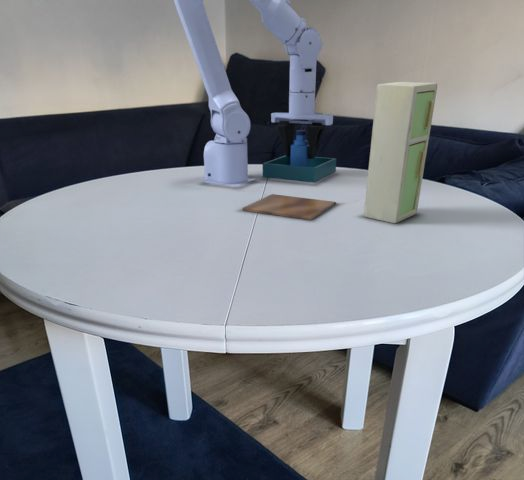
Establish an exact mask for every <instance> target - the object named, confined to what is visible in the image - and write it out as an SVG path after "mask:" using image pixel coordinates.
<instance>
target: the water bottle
mask: <svg viewBox="0 0 524 480" xmlns="http://www.w3.org/2000/svg"><path fill="white" fill-rule="evenodd" d="M308 153H309V139H307V130H306V129H296V130H295V139H293V144H292V145H291V164H290V166H301V167H310V159H309V156H308Z"/></svg>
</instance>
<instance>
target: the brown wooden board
mask: <svg viewBox="0 0 524 480" xmlns="http://www.w3.org/2000/svg"><path fill="white" fill-rule="evenodd" d="M335 205H336V201H332V200H324V199H314V198H307V197H299V196H291V195H290V196H289V195H284V194H283V195H282V194H274V193H272V194H270V195H267V196H265V197H263V198H261V199H259V200H257V201H255V202H253V203H251V204H248V205H246V206H244V207H242V211H243V212H249V213H250V212H251V213H255V214H256V213H257V214H264V215H271V216H278V217H285V218H292V219H299V220H307V221H312V220H314V219H315V218H317V217H318V216H320V215H321V214H323V213H325V212H326V211H327V210H329V209H331V208H332V207H334V206H335Z"/></svg>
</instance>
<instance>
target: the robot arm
mask: <svg viewBox="0 0 524 480" xmlns="http://www.w3.org/2000/svg"><path fill="white" fill-rule="evenodd" d="M247 1H248V2H249V3H250V4H251V5H252V6H253V7H254V8H256V9H257V10H258V11H259V12H260V17H261V23H262V25H264V27H266V29H267V30H268V31H269V32H270V33H272V35H274V37H276V39H277V40H278V41H280V42H281V44H282V45H283V46H284V48H285V52H286V54H287V55H288V56H289V86H288V87H289V91H288V94H289V95H288V112H272V113H270V117H271V118H270V119H271V120H270V122H271V123H274V124H275V123H278V124H277V125H276V130H277V132H278V134H279V136H280V138H281V141H282V144H283V148H284V152H285V155H286V157H290V156H291V145H292V144H294V134H295V129H296V128H295V127H296V124H304V125H305V124H306V125H307V135H308V144H309V153H308V156H309V159H313V158H315V157H316V154H317V150H318V146H319V144H320V141H321V138H322V136H323V134H324V132H325V130H326V128H327V126H332V125H333V123H334V115H333V114H324V113H315V109H316V108H315V107H316V105H315V104H316V103H315V102H316V84H317V83H316V82H317V81H316V80H317V63H318V61H317V59H318V56H319V55H320V53H321V51H322V49H323V45H324V44H323V43H324V42H322V41H321V37H320V33H319V31H318V30H317V29H316V28H314V27H313V26H312V27H311V26H307V20H306V19H305V17H300V16H299V14H297V12H296V11H295V10H294V9H293V7H291V6H290V5H291V1H290V0H247ZM173 3H174V5H175V9H176V11H177V14H178V17H179V19H180V23H181V25H182V28H183V31H184V33H185V36H186V39H187V41H188V42H187V43H188V44H189V47H190V50H191V53H192V56H193V58H194V61H195V63H196V67H197V69H198V72H199V75H200V77H201V80H202V83H203V85H204V88H205V91H206V94H207V97H208V109H209V111H210V126H211V128H212V130H213V133H215V136H214V139H213V140H209V141H207V142H206V143H205V146H204V150H203V165H204V166H203V167H204V180H203V183H210V184H217V185H227V186H233V187H239V186H242V185H244V184H247V183H249V182H252V181H254V180H256V178H253V177H249V163H248V162H249V160H248V157H249V156H248V138H247V137H248V136H249V133H250V131H251V119H250V117H249V115H248V114H247V112H246V111H244V110H243V108H242V106H241V104H240V100H239V99H238V97H237V96H236V94H235V92H234V91H233V89H232V87H231V84H230V81H229V78H228V75H227V72H226V69H225V66H224V62H223V60H222V57H221V53H220V50H219V48H218V44H217V41H216V38H215V35H214V32H213V29H212V26H211V23H210V20H209V17H208V14H207V11H206V8H205V5H204V0H173Z"/></svg>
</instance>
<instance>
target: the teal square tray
mask: <svg viewBox="0 0 524 480" xmlns="http://www.w3.org/2000/svg"><path fill="white" fill-rule="evenodd" d="M290 164H291V156H290V157H286V154H285V155H282V156H279V157H277V158H274V159H272V160H268V161H266V162H263V163H262V178H267V179H268V178H269V179H277V180H278V179H279V180H287V181H295V182H296V181H297V182H304V183H305V182H306V183H317V182H319V181H321V180H322V179H324V178H326V177H328V176H330V175H333V174H334V173H336V172H337V158H335V157H321V156H315V158H313V159H310V167H301V166H290Z"/></svg>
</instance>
